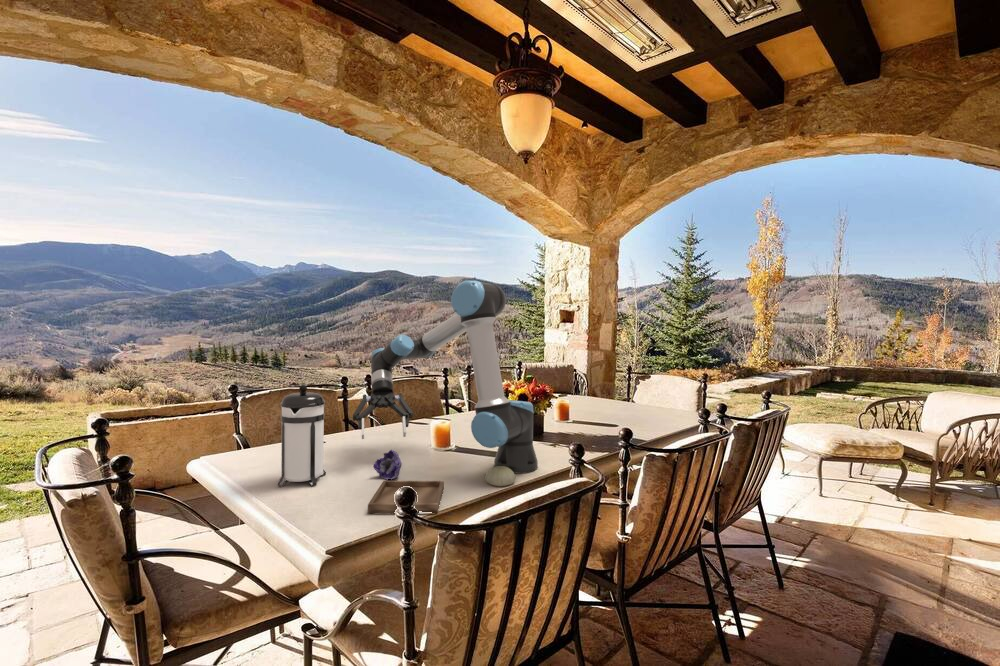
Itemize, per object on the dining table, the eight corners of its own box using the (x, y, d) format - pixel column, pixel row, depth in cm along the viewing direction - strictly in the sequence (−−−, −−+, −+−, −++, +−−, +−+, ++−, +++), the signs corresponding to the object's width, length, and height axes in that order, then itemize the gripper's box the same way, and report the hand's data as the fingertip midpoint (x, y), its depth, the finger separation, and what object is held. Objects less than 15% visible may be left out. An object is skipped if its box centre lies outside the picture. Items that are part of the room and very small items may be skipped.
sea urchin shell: (521, 479, 141) (504, 463, 139) (504, 499, 139) (486, 483, 137) (512, 470, 149) (496, 454, 148) (495, 489, 148) (479, 473, 146)
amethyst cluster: (387, 449, 155) (383, 444, 146) (409, 461, 154) (406, 456, 145) (372, 475, 151) (367, 471, 142) (395, 487, 150) (391, 483, 141)
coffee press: (339, 480, 143) (340, 385, 143) (287, 493, 132) (287, 389, 131) (316, 467, 156) (316, 379, 155) (266, 478, 144) (266, 383, 144)
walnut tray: (443, 489, 137) (444, 480, 137) (437, 514, 119) (437, 504, 119) (383, 488, 136) (383, 480, 136) (367, 513, 119) (367, 504, 118)
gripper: (415, 390, 174) (420, 439, 160) (346, 392, 166) (345, 443, 152) (417, 378, 168) (422, 427, 154) (346, 379, 161) (344, 431, 147)
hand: (384, 435), depth 153 cm, fingers open, 13 cm apart
